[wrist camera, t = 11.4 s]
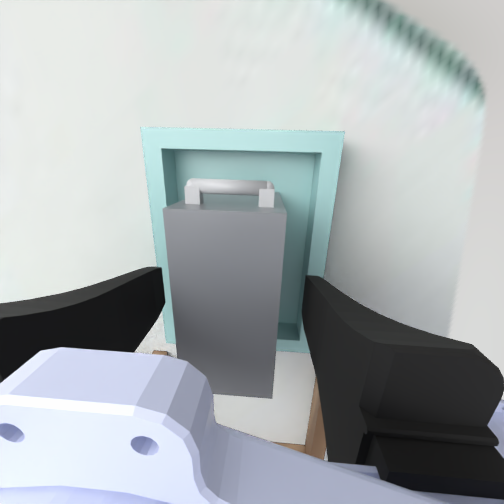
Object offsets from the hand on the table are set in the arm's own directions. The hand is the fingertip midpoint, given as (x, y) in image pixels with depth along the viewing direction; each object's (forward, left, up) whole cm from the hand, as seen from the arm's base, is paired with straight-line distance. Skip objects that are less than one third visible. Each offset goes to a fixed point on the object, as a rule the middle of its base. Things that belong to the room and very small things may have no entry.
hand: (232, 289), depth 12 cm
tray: (0, -1, -6) cm, 6 cm away
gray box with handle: (0, 0, -5) cm, 5 cm away
